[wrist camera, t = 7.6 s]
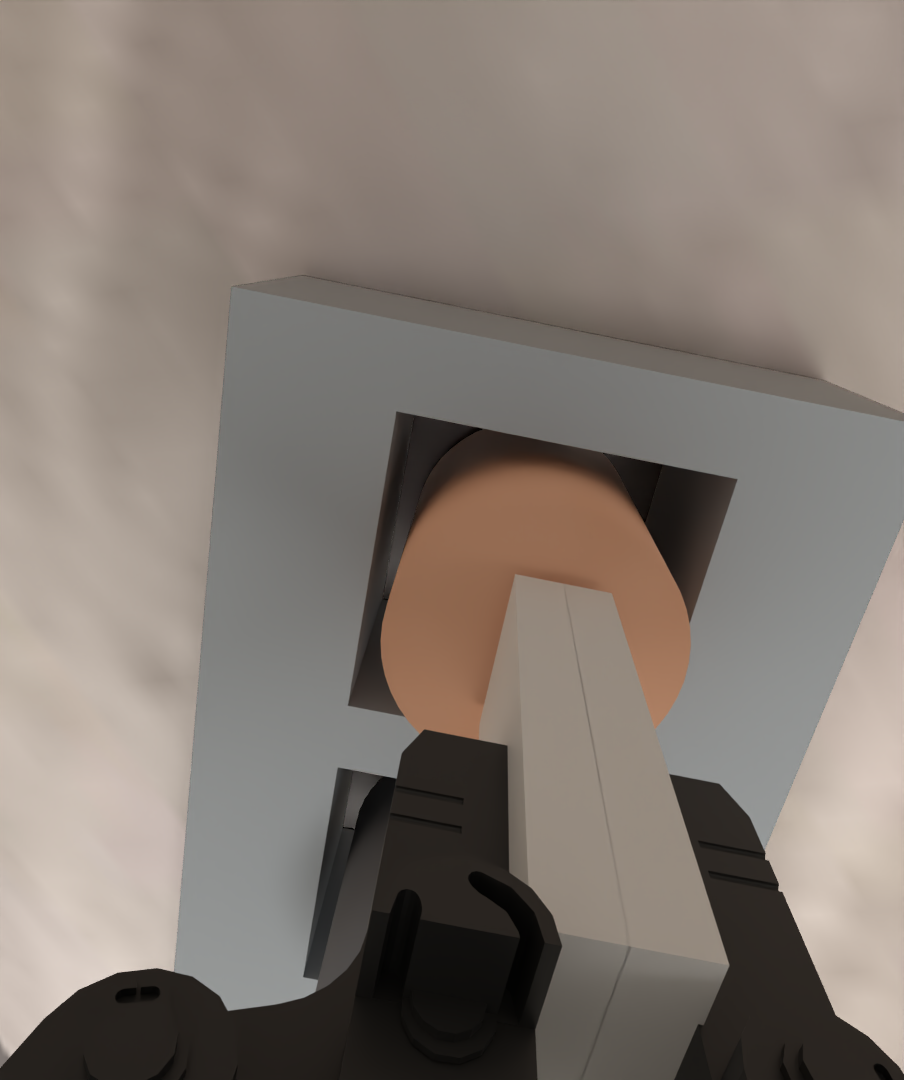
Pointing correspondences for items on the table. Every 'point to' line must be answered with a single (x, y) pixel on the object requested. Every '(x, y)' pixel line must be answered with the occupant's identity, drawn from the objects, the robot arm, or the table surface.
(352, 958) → the button black
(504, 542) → the button terracotta
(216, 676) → the panel
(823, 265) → the table surface
